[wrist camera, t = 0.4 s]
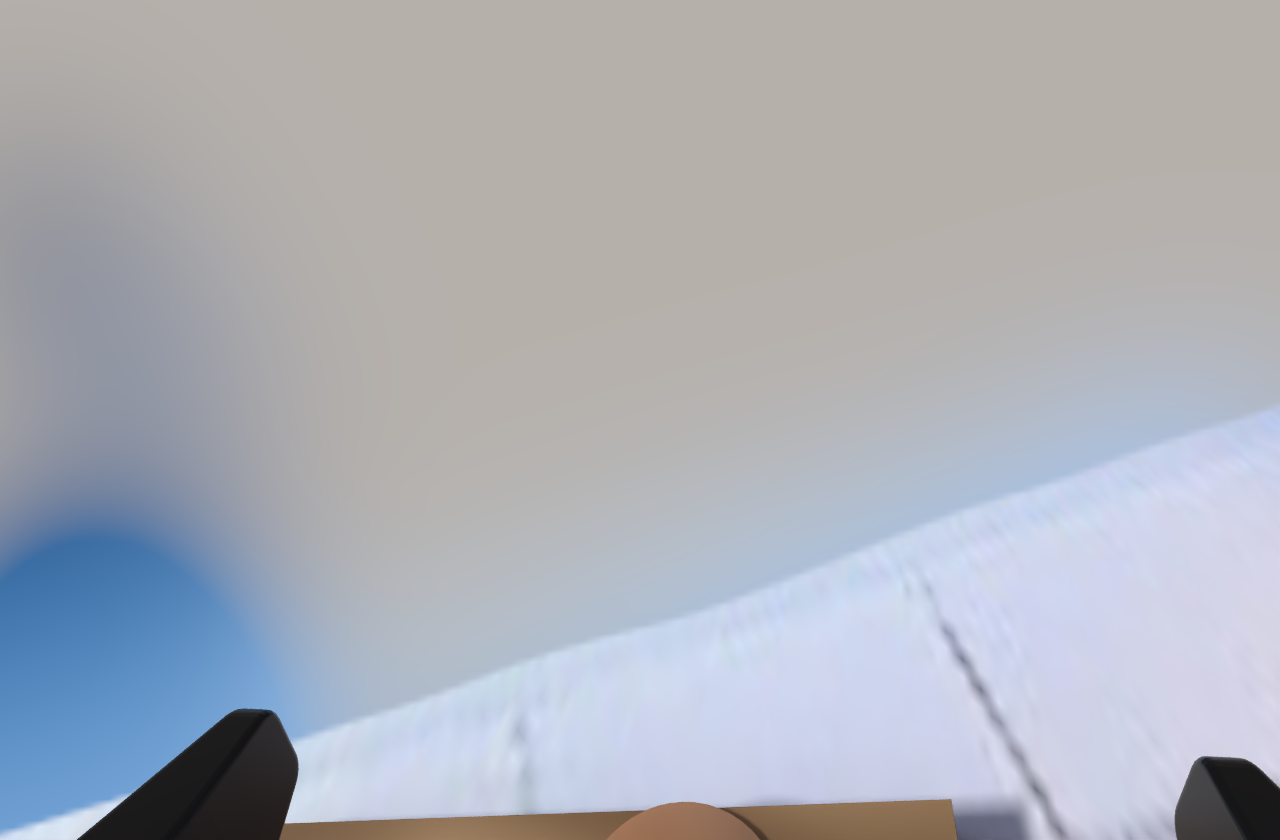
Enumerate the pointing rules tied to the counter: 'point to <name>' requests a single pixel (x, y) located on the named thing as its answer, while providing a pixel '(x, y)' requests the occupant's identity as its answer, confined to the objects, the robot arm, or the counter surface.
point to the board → (666, 824)
